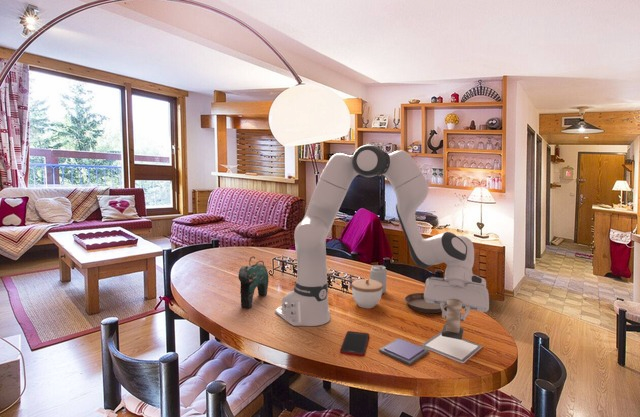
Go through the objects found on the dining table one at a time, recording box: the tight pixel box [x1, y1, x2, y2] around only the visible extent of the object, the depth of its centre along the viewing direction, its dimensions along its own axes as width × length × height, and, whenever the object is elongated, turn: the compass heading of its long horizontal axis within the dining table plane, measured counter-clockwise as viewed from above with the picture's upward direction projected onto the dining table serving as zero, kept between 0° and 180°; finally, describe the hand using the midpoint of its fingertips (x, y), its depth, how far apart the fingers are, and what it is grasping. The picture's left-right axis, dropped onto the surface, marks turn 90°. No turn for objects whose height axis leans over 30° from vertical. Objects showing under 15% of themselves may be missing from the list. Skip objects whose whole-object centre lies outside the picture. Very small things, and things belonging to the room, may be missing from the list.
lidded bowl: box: [351, 278, 383, 309], centre depth 154 cm, size 13×13×11 cm
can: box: [369, 264, 388, 295], centre depth 169 cm, size 8×8×12 cm
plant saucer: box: [404, 292, 447, 314], centre depth 154 cm, size 18×18×3 cm
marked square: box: [420, 331, 483, 364], centre depth 120 cm, size 14×14×1 cm
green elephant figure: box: [238, 256, 269, 310], centre depth 156 cm, size 20×6×20 cm, turn 161°
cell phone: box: [339, 330, 370, 357], centre depth 122 cm, size 8×15×1 cm, turn 166°
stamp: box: [441, 299, 464, 340], centre depth 119 cm, size 6×6×11 cm
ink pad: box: [378, 337, 430, 366], centre depth 117 cm, size 11×11×1 cm
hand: (453, 318), depth 119 cm, fingers closed on stamp, 4 cm apart
